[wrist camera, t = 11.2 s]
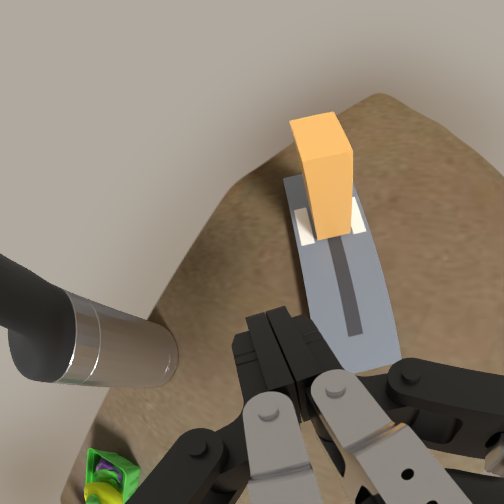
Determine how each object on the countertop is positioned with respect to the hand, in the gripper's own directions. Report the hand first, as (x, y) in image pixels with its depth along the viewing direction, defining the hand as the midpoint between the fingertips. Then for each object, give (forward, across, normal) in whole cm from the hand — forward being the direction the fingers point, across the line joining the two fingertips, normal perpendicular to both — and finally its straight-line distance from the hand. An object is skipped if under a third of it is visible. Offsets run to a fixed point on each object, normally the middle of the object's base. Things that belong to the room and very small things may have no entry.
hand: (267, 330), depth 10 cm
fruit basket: (+8, +25, +31) cm, 41 cm away
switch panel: (+19, -12, +10) cm, 25 cm away
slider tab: (+22, -12, +5) cm, 25 cm away
